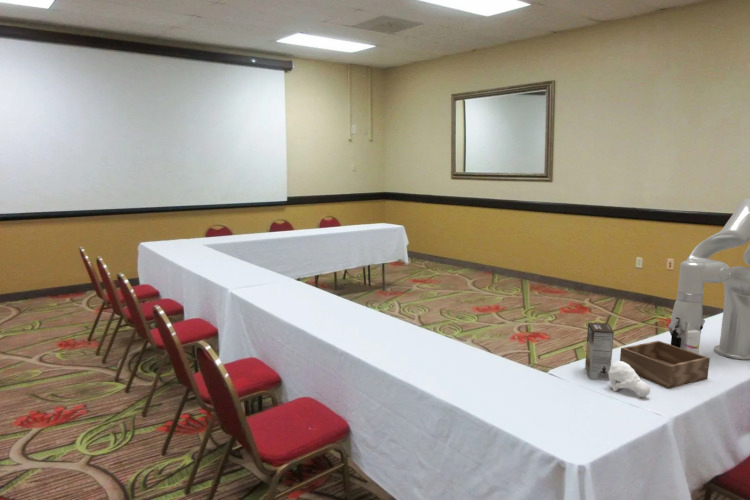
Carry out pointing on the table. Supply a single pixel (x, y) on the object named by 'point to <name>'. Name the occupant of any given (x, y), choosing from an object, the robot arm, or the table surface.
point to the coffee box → (599, 350)
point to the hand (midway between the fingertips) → (684, 345)
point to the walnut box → (666, 364)
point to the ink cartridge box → (690, 340)
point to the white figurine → (627, 379)
